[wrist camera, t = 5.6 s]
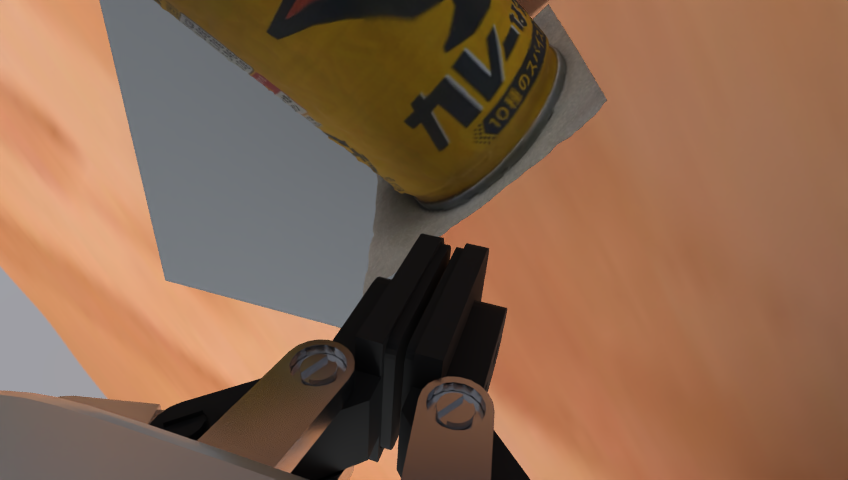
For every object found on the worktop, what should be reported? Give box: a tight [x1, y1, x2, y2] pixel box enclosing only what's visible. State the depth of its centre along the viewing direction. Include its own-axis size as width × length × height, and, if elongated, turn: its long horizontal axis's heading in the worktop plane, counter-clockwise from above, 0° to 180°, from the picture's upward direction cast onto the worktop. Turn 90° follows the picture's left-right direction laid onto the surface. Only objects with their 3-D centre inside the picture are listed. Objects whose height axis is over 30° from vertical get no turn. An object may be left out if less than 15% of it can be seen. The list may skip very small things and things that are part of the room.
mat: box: [100, 0, 395, 328], centre depth 22 cm, size 20×14×1 cm
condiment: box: [154, 0, 607, 296], centre depth 14 cm, size 7×8×12 cm
